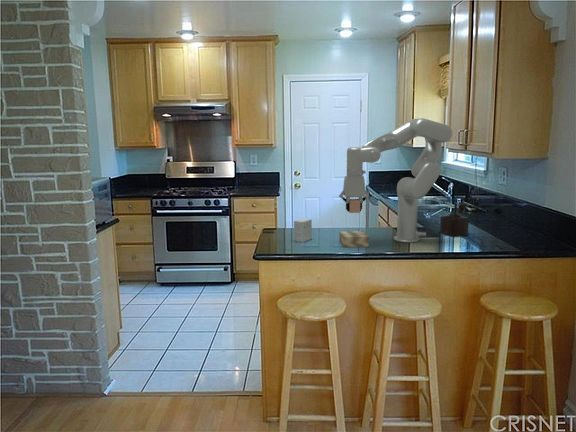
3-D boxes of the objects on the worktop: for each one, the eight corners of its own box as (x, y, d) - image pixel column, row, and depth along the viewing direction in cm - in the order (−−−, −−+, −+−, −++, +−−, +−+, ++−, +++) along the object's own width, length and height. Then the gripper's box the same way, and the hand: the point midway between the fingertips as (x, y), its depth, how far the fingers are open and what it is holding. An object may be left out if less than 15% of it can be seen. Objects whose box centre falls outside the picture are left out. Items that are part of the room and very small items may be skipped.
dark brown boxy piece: (438, 233, 246) (439, 200, 243) (453, 231, 251) (455, 198, 247) (460, 239, 232) (462, 204, 229) (476, 237, 237) (478, 202, 234)
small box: (303, 237, 241) (303, 217, 239) (312, 239, 238) (311, 219, 235) (293, 240, 235) (293, 220, 233) (302, 242, 231) (302, 221, 229)
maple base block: (363, 240, 233) (363, 230, 232) (368, 246, 221) (368, 236, 220) (339, 241, 232) (339, 231, 231) (343, 247, 221) (343, 237, 220)
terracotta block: (357, 210, 226) (358, 198, 225) (360, 212, 221) (360, 200, 220) (347, 211, 226) (348, 199, 225) (349, 212, 221) (350, 200, 220)
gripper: (370, 172, 224) (369, 209, 228) (335, 173, 223) (335, 209, 227) (374, 173, 217) (373, 211, 220) (338, 174, 216) (337, 212, 219)
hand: (353, 210), depth 224 cm, fingers closed on terracotta block, 5 cm apart
